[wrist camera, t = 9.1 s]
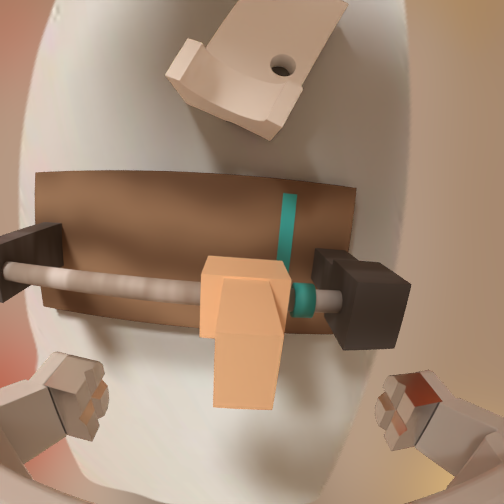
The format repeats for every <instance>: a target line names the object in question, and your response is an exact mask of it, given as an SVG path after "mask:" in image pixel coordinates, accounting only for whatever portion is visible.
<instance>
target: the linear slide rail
mask: <svg viewBox="0 0 504 504" xmlns="http://www.w3.org/2000/svg"><path fill="white" fill-rule="evenodd" d="M355 197H356V188H352V187H345V186H338V185H330V184H322V183H314V182H305V181H296V180H287V179H277V178H266V177H255V176H243V175H229V174H214V173H196V172H173V171H129V170H101V171H59V172H38V173H35V225H33V226H30V227H26V228H23V229H20V230H17V231H14V232H11V233H8V234H5V235H2V236H0V302H2V303H4V302H5V301H7V300H8V299H10V298H11V297H13V296H14V295H16V294H18V293H19V292H21V291H22V290H24V289H25V288H27V287H29V286H30V285H36V286H41V292H42V299H43V305H44V306H45V307H50V308H55V309H61V310H66V311H72V312H78V313H84V314H90V315H96V316H103V317H109V318H116V319H124V320H131V321H139V322H147V323H155V324H164V325H173V326H183V327H194V328H200V293H201V273H202V270H203V268H204V265H205V263H206V260H207V257H208V256H222V257H235V258H249V259H263V260H277V261H283V263H284V265H285V268H286V270H287V272H288V274H289V276H290V278H291V288H290V296H289V303H288V310H287V318H286V325H285V332H284V333H293V334H333V333H334V335H335V337H336V339H337V341H338V342H339V344H340V346H341V348H342V349H343V350H371V349H392V348H394V347H395V344H396V341H397V338H398V334H399V331H400V327H401V323H402V320H403V316H404V312H405V309H406V305H407V301H408V296H409V292H410V288H411V284H410V283H409V282H407V281H406V280H404V279H403V278H401V277H400V276H398V275H397V274H396V273H394V272H393V271H391V270H390V269H388V268H387V267H385V266H384V265H382V264H381V263H379V262H366V261H358V260H357V259H356V258H354V257H353V256H352V255H350V254H349V253H348V250H349V244H350V237H351V229H352V222H353V214H354V206H355Z"/></svg>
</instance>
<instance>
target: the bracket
mask: <svg viewBox="0 0 504 504" xmlns="http://www.w3.org/2000/svg"><path fill="white" fill-rule="evenodd" d="M347 6H348V4H347V3H346V2H344V1H342V0H238V2H237V3H236V4H235V6H234V7H233V8H232V10H231V11H230V12H229V14H228V15H227V17H226V18H225V19H224V21H223V22H222V24H221V25H220V27H219V28H218V30H217V31H216V33H215V34H214V36H213V37H212V39H211V40H210V42H209V43H208V45H207V46H206V48H205V47H204V45H203V43H201V42H198V41H195V40H192V39H190V38H188V39H187V40H186V42H185V43H184V45H183V46H182V48H181V49H180V51H179V53H178V54H177V56H176V57H175V59H174V61H173V62H172V64H171V66H170V67H169V69H168V71H167V72H166V74H165V76H166V77H167V79H168V80H169V81H170V83H171V84H172V85H173V87H174V88H175V89H176V91H177V92H178V93H179V95H180V96H181V97H182V99H183V100H184V101H185V103H186V104H188V105H191V106H193V107H195V108H198V109H200V110H202V111H205V112H207V113H209V114H211V115H214V116H216V117H218V118H220V119H222V120H225V121H230V122H232V123H234V124H236V125H238V126H240V127H242V128H245V129H247V130H249V131H251V132H253V133H255V134H257V135H259V136H261V137H263V138H265V139H267V140H269V141H271V140H272V138H273V137H274V136H275V135H276V134H277V133H278V132H279V131H280V130H281V128H282V127H283V125H284V123H285V122H286V120H287V118H288V116H289V114H290V112H291V110H292V109H293V107H294V105H295V103H296V101H297V99H298V98H299V96H300V94H301V92H302V90H303V89H304V88H302V87H301V86H302V84H303V83H304V81H305V79H306V77H307V75H308V74H309V72H310V70H311V68H312V66H313V65H314V63H315V61H316V59H317V58H318V56H319V54H320V52H321V51H322V49H323V47H324V45H325V44H326V42H327V40H328V38H329V37H330V35H331V33H332V32H333V30H334V28H335V26H336V25H337V23H338V21H339V20H340V18H341V16H342V14H343V13H344V11H345V9H346V8H347ZM275 66H280V67H283V68H285V69H287V70H288V72H289V74H290V76H285V77H284V76H279V75H277V74H275V73H274V72H273V71H272V69H271V68H272V67H275Z"/></svg>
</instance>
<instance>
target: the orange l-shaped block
mask: <svg viewBox="0 0 504 504" xmlns="http://www.w3.org/2000/svg"><path fill="white" fill-rule="evenodd" d="M290 288H291V278H290V276H289V274H288V272H287V270H286V268H285V265H284V263H283V261H277V260H263V259H249V258H235V257H222V256H208V257H207V260H206V263H205V265H204V268H203V270H202V273H201V293H200V337H203V338H215V358H214V394H213V407H218V408H233V409H257V410H272V408H273V402H274V396H275V390H276V384H277V378H278V372H279V366H280V359H281V353H282V346H283V340H284V332H285V325H286V318H287V310H288V303H289V296H290Z"/></svg>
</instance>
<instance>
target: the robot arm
mask: <svg viewBox="0 0 504 504" xmlns="http://www.w3.org/2000/svg"><path fill="white" fill-rule="evenodd" d="M104 374H105V372H104V368H103V364H102V363H101V362H99V361H95V360H91V359H86V358H82V357H78V356H74V355H69V354H65V353H61V352H53V353H52V354H51V355H50V357H49V358H48V359H47V360H46V361H45V362H44V363H43V365H42V366H41V367H40V368H39V369H38V370H37V372H36V373H35V374H34V375H33V376H32V377H31V379H30V380H29V381H28V380H22V381H19V382H17V383H14V384H11V385H8V386H5V387H3V388H0V504H96V503H93V502H89V501H86V500H83V499H80V498H77V497H74V496H72V495H69V494H66V493H63V492H61V491H58V490H56V489H53V488H51V487H48V486H46V485H43V484H41V483H39V482H37V481H34V480H33V479H32V476H31V475H30V473H29V472H28V470H27V469H26V468H25V466H24V464H25V463H26V462H28V461H29V460H31V459H33V458H34V457H36V456H37V455H39V454H40V453H42V452H43V451H45V450H46V449H48V448H49V447H51V446H52V445H54V444H55V443H57V442H58V441H60V440H61V439H63V438H64V437H66V435H69V436H73V437H77V438H80V439H84V440H88V441H93V439H94V437H95V435H96V433H97V431H98V428H99V426H100V425H99V422H98V419H99V418H101V417H103V416H104V415H105V413H106V411H107V409H108V404H109V391H108V386H107V385H106V383H105V382H104V381H103V380H102V378H103V376H104ZM383 388H384V391H385V392H384V393H383V394H382V395H381V396H380V397H378V400H377V403H376V405H375V417H376V421H377V423H378V425H379V426H380V427H382V428H383V429H385V430H386V432H385V434H384V437H385V439H386V441H387V443H388V445H389V447H390V449H391V451H394V450H399V449H404V448H409V447H414V446H415V448H416V449H417V450H419V451H420V452H421V453H423V454H424V455H425V456H427V457H428V458H429V459H431V460H432V461H434V462H435V463H436V464H438V465H439V466H441V467H442V468H443V469H445V470H446V471H448V472H449V473H450V474H452V475H453V476H455V478H454V479H453V480H452V481H451V482H450V484H449V485H448V486H447V488H446V490H443V491H441V492H438V493H435V494H433V495H430V496H427V497H424V498H421V499H418V500H415V501H412V502H409V503H406V504H504V417H502V416H500V415H497V414H495V413H493V412H490V411H488V410H486V409H483V408H481V407H479V406H476V405H474V404H472V403H470V402H468V401H465V400H463V399H461V398H457V399H456V398H455V397H454V396H453V394H452V393H451V392H450V391H449V390H448V389H447V387H446V386H445V385H444V384H443V383H442V381H441V380H440V379H439V378H438V377H437V376H436V374H435V373H434V372H433V371H430V370H425V371H419V372H416V373H408V374H399V375H390V376H388V377H387V378H386V380H385V382H384V384H383Z"/></svg>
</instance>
